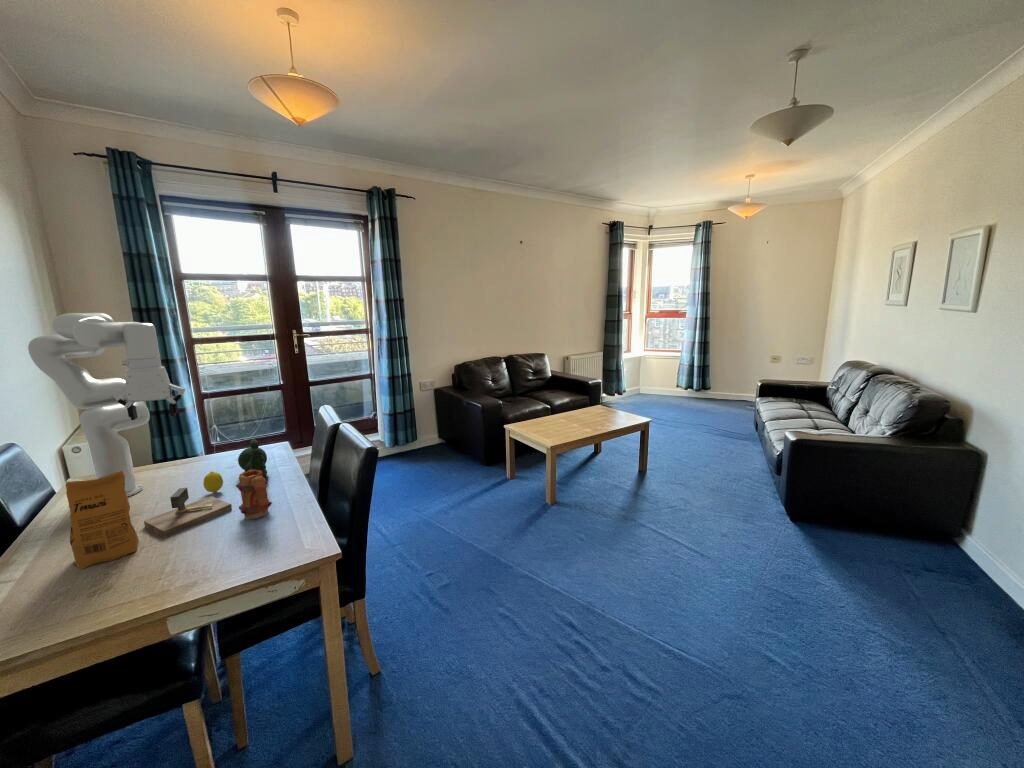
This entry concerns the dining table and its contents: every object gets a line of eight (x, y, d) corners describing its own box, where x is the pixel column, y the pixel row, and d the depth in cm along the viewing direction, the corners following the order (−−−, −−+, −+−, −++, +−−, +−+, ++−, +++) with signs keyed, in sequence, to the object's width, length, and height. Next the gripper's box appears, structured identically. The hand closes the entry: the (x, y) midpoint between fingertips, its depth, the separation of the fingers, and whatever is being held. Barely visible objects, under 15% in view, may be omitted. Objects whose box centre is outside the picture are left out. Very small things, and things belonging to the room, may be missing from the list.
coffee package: (77, 554, 108) (59, 477, 104) (140, 537, 116) (126, 465, 112) (71, 573, 101) (52, 490, 96) (139, 553, 108) (123, 476, 104)
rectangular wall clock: (144, 526, 121) (143, 520, 121) (211, 501, 137) (210, 495, 137) (164, 537, 116) (163, 530, 115) (231, 509, 132) (231, 503, 131)
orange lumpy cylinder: (237, 514, 128) (231, 470, 125) (266, 505, 134) (260, 462, 131) (251, 532, 119) (244, 484, 116) (281, 521, 125) (276, 475, 122)
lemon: (214, 497, 140) (211, 475, 138) (201, 495, 141) (197, 474, 140) (228, 490, 145) (225, 469, 144) (215, 488, 146) (212, 467, 145)
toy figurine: (276, 490, 149) (265, 463, 168) (271, 442, 144) (260, 420, 163) (246, 497, 143) (237, 469, 162) (239, 448, 138) (232, 425, 157)
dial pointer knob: (172, 517, 123) (168, 497, 121) (181, 507, 129) (178, 488, 127) (208, 512, 126) (205, 493, 124) (216, 502, 132) (213, 484, 130)
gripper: (102, 367, 118) (113, 423, 121) (177, 363, 126) (185, 416, 129) (112, 363, 124) (122, 417, 128) (183, 360, 132) (191, 411, 135)
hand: (154, 417), depth 128 cm, fingers open, 9 cm apart
